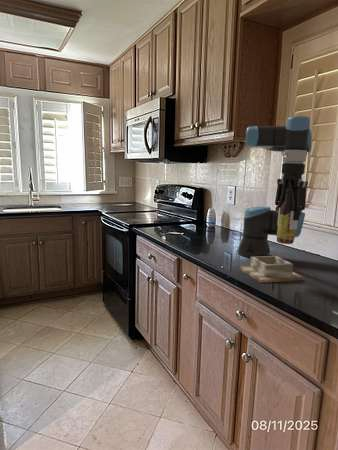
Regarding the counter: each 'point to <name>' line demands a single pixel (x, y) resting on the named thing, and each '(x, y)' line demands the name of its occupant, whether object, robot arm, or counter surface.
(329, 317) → the counter surface
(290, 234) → the sauce bottle
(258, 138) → the robot arm
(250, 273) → the caddy board
